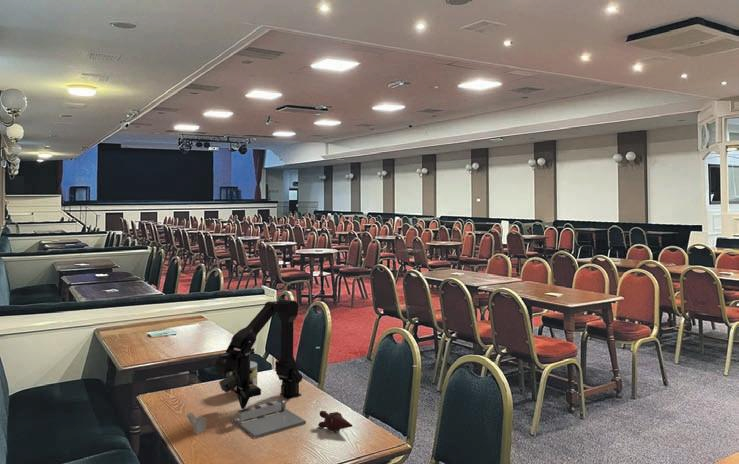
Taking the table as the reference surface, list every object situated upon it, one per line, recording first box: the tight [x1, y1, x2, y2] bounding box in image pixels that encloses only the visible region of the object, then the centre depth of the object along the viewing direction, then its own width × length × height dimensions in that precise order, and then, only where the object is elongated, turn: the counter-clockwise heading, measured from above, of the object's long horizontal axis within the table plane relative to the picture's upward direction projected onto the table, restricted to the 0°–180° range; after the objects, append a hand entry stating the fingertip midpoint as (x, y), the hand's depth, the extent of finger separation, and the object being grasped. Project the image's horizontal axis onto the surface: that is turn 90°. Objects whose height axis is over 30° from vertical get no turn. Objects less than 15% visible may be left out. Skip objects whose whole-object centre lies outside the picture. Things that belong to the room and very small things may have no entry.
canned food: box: [229, 360, 258, 399], centre depth 230 cm, size 11×11×12 cm
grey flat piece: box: [186, 412, 207, 435], centre depth 192 cm, size 7×2×8 cm, turn 151°
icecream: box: [317, 410, 353, 434], centre depth 194 cm, size 7×7×15 cm
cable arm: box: [237, 399, 287, 421], centre depth 205 cm, size 18×3×3 cm, turn 128°
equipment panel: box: [231, 408, 307, 439], centre depth 201 cm, size 20×18×1 cm
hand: (242, 408), depth 209 cm, fingers closed
